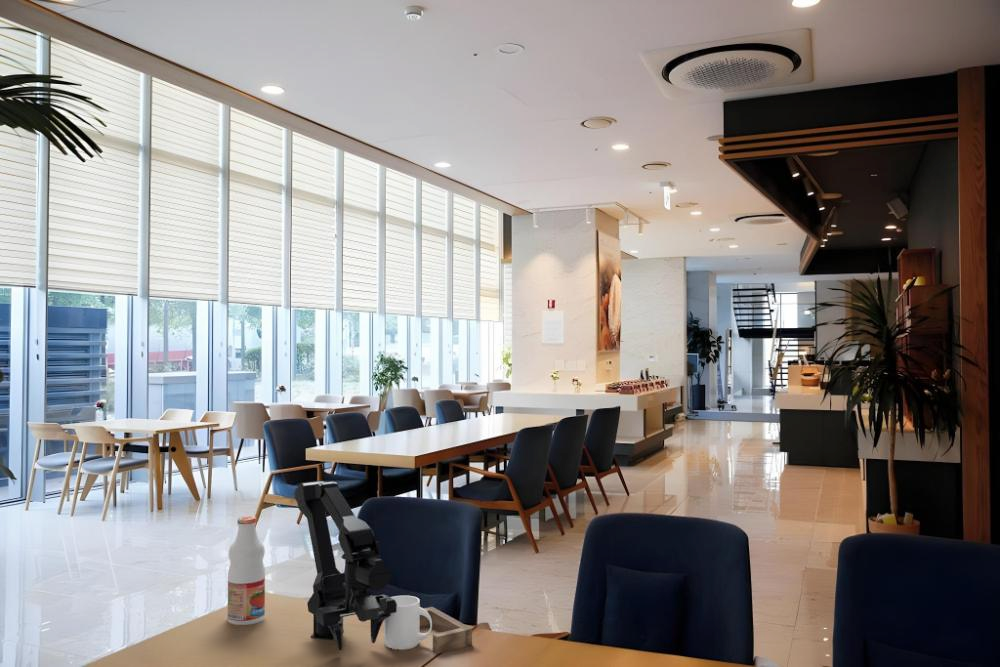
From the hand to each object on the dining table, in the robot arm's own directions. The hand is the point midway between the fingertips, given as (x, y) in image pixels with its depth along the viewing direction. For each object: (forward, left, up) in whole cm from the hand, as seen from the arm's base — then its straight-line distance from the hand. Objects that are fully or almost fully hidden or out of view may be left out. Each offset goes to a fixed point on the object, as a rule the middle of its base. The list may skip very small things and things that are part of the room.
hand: (356, 646), depth 185 cm
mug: (+10, +9, -2) cm, 13 cm away
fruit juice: (-37, +15, -2) cm, 39 cm away
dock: (+15, +15, -2) cm, 21 cm away
